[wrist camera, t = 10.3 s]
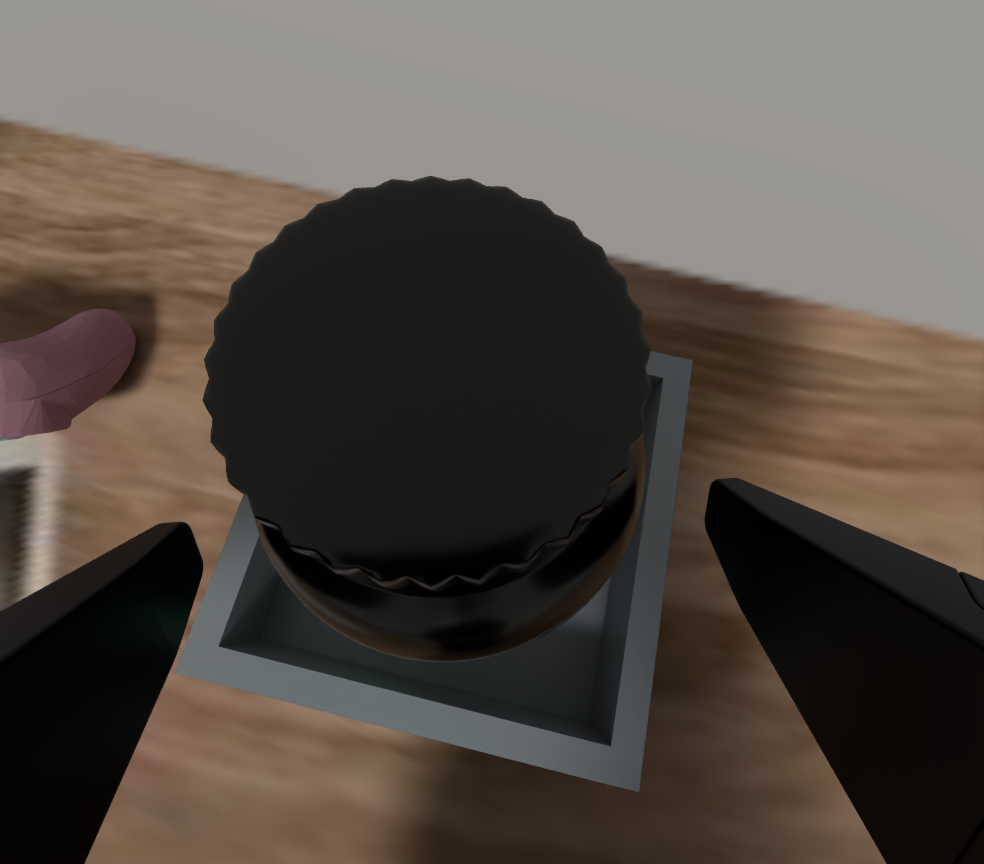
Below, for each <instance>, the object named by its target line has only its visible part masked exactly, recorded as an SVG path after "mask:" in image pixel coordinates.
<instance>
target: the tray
mask: <svg viewBox="0 0 984 864" xmlns="http://www.w3.org/2000/svg"><path fill="white" fill-rule="evenodd" d="M692 363H693V360H690V359H685V358H681V357H676V356H672V355H667V354H663V353H658V352H654V351H651V352H650V356H649V360H648V363H647V366H646V371H647V375H648V377H649V379H650V383H651V387H652V392H651V395H650V397H649V399H648V401H647V403H646V405H645V406H644V408H643V415H644V434H643V439H644V447H645V460H646V463H645V484H644V492H643V499H642V504H641V508H640V512H639V517H638V520H637V523H636V526H635V529H634V532H633V535H632V538H631V540H630V542H629V544H628V546H627V548H626V551H625V553H624V555H623V557H622V558H621V560H620V562H619V563H618V565H617V567H616V568H615V570H614V572H613V573H612V575H611V576H610V577H609V579H608V580H607V581H606V583H605V584H604V585H603V587H602V588H601V589H600V590H599V591H598V593H597V594H596V595H595V596H594V597H593V598H592V599H591V600H590V601H589V602H588V603H587V604H586V605H585V606H584V607H583V608H582V609H581V610H580V611H579V612H577V613H576V614H575V615H574V616H573V617H572V618H570V619H569V620H568V621H566V622H565V623H563V624H562V625H561V626H559V627H558V628H556V629H555V630H553V631H552V632H550V633H548V634H546V635H545V636H543V637H541V638H539V639H538V640H536V641H534V642H531V643H529V644H527V645H524V646H522V647H520V648H517V649H515V650H512V651H509V652H506V653H502V654H499V655H496V656H492V657H487V658H482V659H477V660H470V661H459V662H427V661H418V660H410V659H405V658H401V657H396V656H392V655H388V654H385V653H382V652H379V651H376V650H373V649H370V648H367V647H365V646H363V645H361V644H359V643H357V642H355V641H353V640H351V639H348V638H347V637H345V636H343V635H342V634H340V633H339V632H337V631H335V630H334V629H332V628H330V627H329V626H328V625H326V624H325V623H324V622H323V621H321V620H320V619H319V618H317V617H316V616H315V615H314V614H313V613H312V612H311V611H309V610H308V609H307V608H306V607H305V606H304V605H303V604H302V603H301V602H300V601H299V600H298V599H297V597H296V596H295V595H294V594H293V593H292V591H291V590H290V589H289V588H288V586H287V585H286V584H285V583H284V581H283V580H282V578H281V577H280V575H279V574H278V572H277V571H276V569H275V567H274V566H273V564H272V562H271V560H270V558H269V556H268V554H267V552H266V550H265V548H264V546H263V543H262V541H261V538H260V535H259V533H258V530H257V527H256V523H255V519H254V515H253V512H252V510H251V507H250V502H249V499H248V497H247V496H246V495H243V498H242V500H241V503H240V505H239V508H238V511H237V513H236V516H235V518H234V521H233V524H232V526H231V529H230V531H229V534H228V537H227V539H226V542H225V544H224V547H223V549H222V552H221V555H220V557H219V560H218V562H217V565H216V568H215V570H214V573H213V575H212V578H211V580H210V583H209V586H208V588H207V591H206V593H205V596H204V599H203V601H202V604H201V606H200V609H199V611H198V614H197V617H196V619H195V622H194V624H193V627H192V630H191V632H190V635H189V637H188V640H187V642H186V645H185V648H184V650H183V653H182V655H181V658H180V661H179V663H178V666H177V668H176V671H175V673H178V674H182V675H185V676H189V677H193V678H197V679H201V680H205V681H209V682H213V683H216V684H220V685H224V686H228V687H232V688H236V689H240V690H244V691H247V692H251V693H255V694H259V695H263V696H267V697H271V698H275V699H278V700H282V701H286V702H290V703H294V704H298V705H302V706H306V707H309V708H313V709H317V710H321V711H325V712H329V713H333V714H336V715H340V716H344V717H348V718H352V719H356V720H360V721H364V722H367V723H371V724H375V725H379V726H383V727H387V728H391V729H395V730H398V731H402V732H406V733H410V734H414V735H418V736H422V737H426V738H429V739H433V740H437V741H441V742H445V743H449V744H453V745H457V746H460V747H464V748H468V749H472V750H476V751H480V752H484V753H488V754H491V755H495V756H499V757H503V758H507V759H511V760H515V761H519V762H522V763H526V764H530V765H534V766H538V767H542V768H546V769H550V770H553V771H557V772H561V773H565V774H569V775H573V776H577V777H581V778H584V779H588V780H592V781H596V782H600V783H604V784H608V785H611V786H615V787H619V788H623V789H627V790H631V791H635V792H639V788H640V780H641V772H642V764H643V756H644V748H645V740H646V732H647V724H648V716H649V708H650V700H651V692H652V684H653V676H654V668H655V660H656V652H657V643H658V635H659V627H660V619H661V611H662V603H663V595H664V587H665V579H666V571H667V563H668V555H669V547H670V539H671V531H672V523H673V515H674V507H675V499H676V491H677V483H678V475H679V467H680V459H681V451H682V443H683V435H684V427H685V419H686V411H687V403H688V395H689V387H690V379H691V371H692Z"/></svg>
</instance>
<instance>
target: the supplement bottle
mask: <svg viewBox="0 0 984 864" xmlns="http://www.w3.org/2000/svg"><path fill="white" fill-rule="evenodd" d="M641 321H642V312H641V310H640V309H639V308H638V306H637V305H636V304H635V303H634V302H633V301H632V300H631V299H630V297H629V296H628V292H627V285H626V281H625V277H624V276H623V275H622V274H621V273H620V272H618V271H617V270H616V269H614V268H613V267H612V266H611V265H610V264H609V263H608V260H607V257H606V255H605V253H604V250H603V248H602V247H601V246H600V245H598V244H596V243H595V242H593V241H590V240H589V239H587V238H586V237H584V236H583V234H582V233H581V231H580V229H579V228H578V226H577V225H576V224H575V222H574V221H571V220H569V219H567V218H564V217H561V216H558V215H555V214H554V213H553V212H552V211H551V210H550V209H549V208H548V207H547V206H546V205H545V204H544V203H543V202H542V201H538V200H533V199H527V198H522V197H521V196H519V195H518V194H517V193H515V192H514V191H512V190H510V189H509V188H507V187H500V186H499V187H498V186H495V187H490V186H485V185H483V184H481V183H479V182H476V181H474V180H472V179H459V180H454V181H448V180H445V179H441V178H437V177H433V176H428V177H424V178H420V179H417V180H414V181H405V180H395V179H391V180H389V181H387V182H384V183H382V184H381V185H379V186H376V187H373V188H371V187H369V188H354V189H352V190H351V191H349V192H347V193H346V194H345V195H344V196H342V197H341V198H339V199H338V200H334V201H327V202H323V203H320V204H317V205H316V206H315V207H314V208H313V209H312V210H311V211H310V212H309V213H308V214H307V215H306V216H305V218H303V219H300V220H298V221H294V222H292V223H290V224H288V225H285V226H284V227H283V229H282V230H281V232H280V233H279V234H278V236H277V238H276V239H275V241H274V242H272V243H271V244H269V245H267V246H265V247H264V248H262V249H261V250H259V251H258V252H256V253H255V255H254V258H253V260H252V262H251V265H250V267H249V270H248V271H247V272H246V273H245V274H244V275H242V276H241V277H239V278H238V279H237V280H236V281H235V282H234V283H233V284H232V286H231V290H230V294H229V301H228V304H227V305H226V307H225V308H224V309H223V310H222V311H221V312H220V313H219V315H218V316H217V317H216V319H215V320H214V335H215V340H214V342H213V344H212V346H211V348H210V349H209V350H208V352H207V354H206V356H205V359H204V361H205V366H206V370H207V373H208V376H209V381H208V384H207V386H206V389H205V393H204V397H203V402H204V404H205V406H206V408H207V410H208V412H209V413H210V415H211V417H212V418H213V419H212V429H211V443H212V444H213V446H214V447H215V448H216V449H217V450H218V452H219V453H220V454H221V455H223V456H224V457H225V461H226V473H227V479H228V482H229V483H230V484H231V485H232V486H233V487H234V488H236V489H237V490H238V491H240V492H241V493H242V494H244V495H246V496H247V497H248V499H249V502H250V507H251V510H252V512H253V515H254V519H255V523H256V527H257V530H258V533H259V535H260V538H261V541H262V543H263V546H264V548H265V550H266V552H267V554H268V556H269V558H270V560H271V562H272V564H273V566H274V567H275V569H276V571H277V572H278V574H279V575H280V577H281V578H282V580H283V581H284V583H285V584H286V585H287V586H288V588H289V589H290V590H291V591H292V593H293V594H294V595H295V596H296V597H297V599H298V600H299V601H300V602H301V603H302V604H303V605H304V606H305V607H306V608H307V609H308V610H309V611H311V612H312V613H313V614H314V615H315V616H316V617H317V618H319V619H320V620H321V621H323V622H324V623H325V624H326V625H328V626H329V627H330V628H332V629H334V630H335V631H337V632H339V633H340V634H342V635H343V636H345V637H347V638H348V639H351V640H353V641H355V642H357V643H359V644H361V645H363V646H365V647H367V648H370V649H373V650H376V651H379V652H382V653H385V654H388V655H392V656H396V657H401V658H405V659H410V660H418V661H427V662H459V661H470V660H477V659H482V658H487V657H492V656H496V655H499V654H502V653H506V652H509V651H512V650H515V649H517V648H520V647H522V646H524V645H527V644H529V643H531V642H534V641H536V640H538V639H539V638H541V637H543V636H545V635H546V634H548V633H550V632H552V631H553V630H555V629H556V628H558V627H559V626H561V625H562V624H563V623H565V622H566V621H568V620H569V619H570V618H572V617H573V616H574V615H575V614H576V613H577V612H579V611H580V610H581V609H582V608H583V607H584V606H585V605H586V604H587V603H588V602H589V601H590V600H591V599H592V598H593V597H594V596H595V595H596V594H597V593H598V591H599V590H600V589H601V588H602V587H603V585H604V584H605V583H606V581H607V580H608V579H609V577H610V576H611V575H612V573H613V572H614V570H615V568H616V567H617V565H618V563H619V562H620V560H621V558H622V557H623V555H624V553H625V551H626V548H627V546H628V544H629V542H630V540H631V538H632V535H633V532H634V529H635V526H636V523H637V520H638V517H639V512H640V508H641V504H642V499H643V492H644V484H645V463H646V460H645V447H644V439H643V434H644V415H643V408H644V406H645V405H646V403H647V401H648V399H649V397H650V395H651V392H652V387H651V383H650V379H649V377H648V375H647V371H646V366H647V363H648V360H649V356H650V352H651V349H650V347H649V345H648V343H647V340H646V339H645V337H644V335H643V334H642V332H641Z"/></svg>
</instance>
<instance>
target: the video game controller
mask: <svg viewBox="0 0 984 864" xmlns="http://www.w3.org/2000/svg"><path fill="white" fill-rule="evenodd" d="M135 344H136V337H135V335H134V332H133V330H132V328H131V326H130V325H129V323H128V322H127V320H126V319H125V318H124V317H123V316H121V315H120V314H118V313H117V312H115V311H113V310H109V309H104V308H102V309H92V310H88V311H84V312H80V313H78V314H77V315H75V316H73V317H71V318H70V319H68V320H66V321H64V322H63V323H61V324H59V325H57V326H55V327H54V328H52V329H50V330H48V331H45V332H43V333H41V334H38V335H36V336H33V337H29V338H26V339H22V340H17V341H10V342H3V343H0V441H4V440H11V439H18V438H22V437H25V436H28V435H34V434H42V433H49V432H54V431H59V430H64V429H67V428H69V427H70V426H71V420H72V419H73V418H74V417H75V416H77V415H78V414H80V413H81V412H82V411H84V410H85V409H87V408H88V407H89V406H91V405H92V404H93V403H95V402H96V401H98V400H99V399H100V398H102V397H103V396H104V395H105V394H106V393H107V392H108V391H109V390H110V389H111V388H112V387H113V386H114V385H115V384H116V383H117V382H118V381H119V379H120V378H121V377H122V376H123V374H124V373H125V371H126V370H127V368H128V366H129V364H130V362H131V360H132V358H133V355H134V352H135Z"/></svg>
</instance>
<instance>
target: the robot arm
mask: <svg viewBox="0 0 984 864" xmlns="http://www.w3.org/2000/svg"><path fill="white" fill-rule="evenodd" d="M705 528H706V531H707V534H708V536H709V538H710V541H711V543H712V545H713V548H714V550H715V552H716V555H717V557H718V559H719V562H720V564H721V566H722V568H723V571H724V573H725V575H726V578H727V580H728V582H729V585H730V587H731V589H732V591H733V594H734V596H735V598H736V600H737V602H738V604H739V606H740V608H741V610H742V612H743V614H744V615H745V617H746V619H747V621H748V623H749V624H750V626H751V628H752V630H753V631H754V633H755V635H756V637H757V638H758V640H759V642H760V643H761V645H762V647H763V649H764V650H765V652H766V654H767V656H768V657H769V659H770V661H771V663H772V664H773V666H774V668H775V670H776V671H777V673H778V675H779V677H780V678H781V680H782V682H783V684H784V685H785V687H786V689H787V691H788V692H789V694H790V696H791V698H792V699H793V701H794V703H795V705H796V706H797V708H798V710H799V712H800V713H801V715H802V717H803V719H804V720H805V722H806V724H807V726H808V727H809V729H810V731H811V733H812V734H813V736H814V738H815V740H816V741H817V743H818V745H819V747H820V748H821V750H822V752H823V753H824V755H825V757H826V759H827V760H828V762H829V764H830V766H831V767H832V769H833V771H834V773H835V774H836V776H837V778H838V780H839V781H840V783H841V785H842V787H843V788H844V790H845V792H846V794H847V795H848V797H849V799H850V801H851V802H852V804H853V806H854V808H855V809H856V811H857V813H858V815H859V816H860V818H861V820H862V822H863V823H864V825H865V827H866V829H867V830H868V832H869V834H870V836H871V837H872V839H873V841H874V843H875V844H876V846H877V848H878V850H879V851H880V853H881V855H882V856H883V858H884V860H885V862H886V863H887V864H984V580H981V579H979V578H977V577H974V576H972V575H969V574H967V573H965V572H959V573H958V571H957V570H956V569H955V568H952V567H950V566H948V565H945V564H943V563H940V562H938V561H936V560H933V559H931V558H928V557H926V556H924V555H921V554H919V553H916V552H914V551H912V550H909V549H907V548H904V547H902V546H900V545H897V544H895V543H892V542H890V541H888V540H885V539H883V538H880V537H878V536H876V535H873V534H871V533H868V532H866V531H864V530H861V529H859V528H856V527H854V526H852V525H849V524H847V523H844V522H842V521H840V520H837V519H835V518H832V517H830V516H828V515H825V514H823V513H820V512H818V511H816V510H813V509H811V508H808V507H806V506H804V505H801V504H799V503H796V502H794V501H792V500H789V499H787V498H784V497H782V496H780V495H777V494H775V493H772V492H770V491H768V490H765V489H763V488H760V487H758V486H756V485H753V484H751V483H748V482H746V481H744V480H741V479H738V478H727V479H717V480H715V481H713V482H712V484H711V486H710V490H709V496H708V502H707V508H706V513H705ZM202 574H203V560H202V557H201V554H200V552H199V549H198V546H197V543H196V541H195V538H194V535H193V532H192V530H191V528H190V526H189V525H188V524H187V523H185V522H171V523H161V524H158V525H155V526H154V527H152V528H150V529H148V530H146V531H145V532H143V533H141V534H139V535H137V536H136V537H134V538H132V539H130V540H128V541H127V542H125V543H123V544H121V545H119V546H118V547H116V548H114V549H112V550H110V551H109V552H107V553H105V554H103V555H101V556H100V557H98V558H96V559H94V560H92V561H91V562H89V563H87V564H85V565H83V566H82V567H80V568H78V569H76V570H74V571H73V572H71V573H69V574H67V575H65V576H64V577H62V578H60V579H58V580H56V581H54V582H53V583H51V584H49V585H47V586H45V587H44V588H42V589H40V590H38V591H36V592H35V593H33V594H31V595H29V596H27V597H26V598H24V599H22V600H20V601H18V602H17V603H15V604H13V605H11V606H9V607H8V608H6V609H4V610H2V611H0V864H85V861H86V859H87V857H88V855H89V852H90V850H91V848H92V846H93V843H94V841H95V839H96V836H97V834H98V832H99V830H100V827H101V825H102V823H103V821H104V818H105V816H106V814H107V812H108V809H109V807H110V805H111V803H112V800H113V798H114V796H115V794H116V791H117V789H118V787H119V785H120V782H121V780H122V778H123V776H124V773H125V771H126V769H127V767H128V764H129V762H130V760H131V758H132V755H133V753H134V751H135V749H136V746H137V744H138V742H139V740H140V737H141V735H142V733H143V730H144V728H145V726H146V724H147V721H148V719H149V717H150V715H151V712H152V710H153V708H154V706H155V703H156V701H157V699H158V697H159V694H160V692H161V690H162V688H163V685H164V683H165V681H166V679H167V676H168V674H169V672H170V669H171V667H172V665H173V662H174V660H175V657H176V655H177V652H178V649H179V646H180V643H181V640H182V637H183V634H184V631H185V628H186V625H187V621H188V618H189V615H190V612H191V609H192V606H193V603H194V600H195V596H196V593H197V590H198V587H199V584H200V581H201V578H202Z"/></svg>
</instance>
